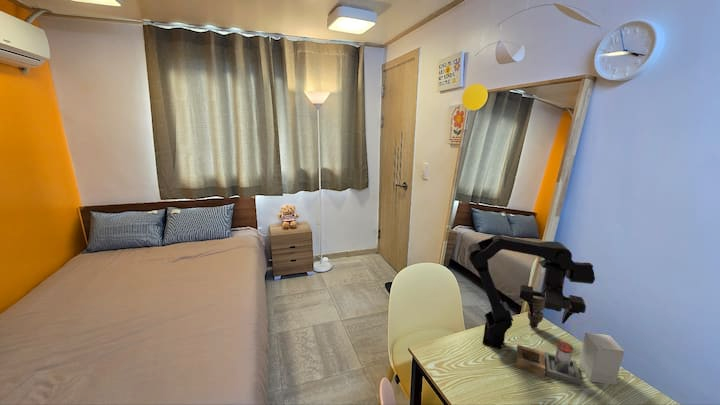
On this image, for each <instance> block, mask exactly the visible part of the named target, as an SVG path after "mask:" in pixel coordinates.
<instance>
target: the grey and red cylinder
mask: <svg viewBox="0 0 720 405" xmlns="http://www.w3.org/2000/svg"><path fill="white" fill-rule="evenodd" d="M573 350H574V348H573V346H572V345H571V344H569V343H568V342H565V341H558V342H557V346H556V352H555V355H556V356H555V361H554V369H555V370H556V371H558V372H560V373H563V374H567V373H568V370H569V365H570V360H572V355H573Z"/></svg>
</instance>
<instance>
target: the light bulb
mask: <svg viewBox="0 0 720 405" xmlns="http://www.w3.org/2000/svg"><path fill="white" fill-rule="evenodd" d="M545 309H546V308H545V307H544V299H542V298H538V297H533V316H531V313H530V308H529V309H528V311H527V318H528V320H529V326H530V327H531V328H532V329H534V328H535V329H536V328H538V326H539V324H540V323H541V322H542V321H543V319H544V312H543V311H544V310H545Z"/></svg>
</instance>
